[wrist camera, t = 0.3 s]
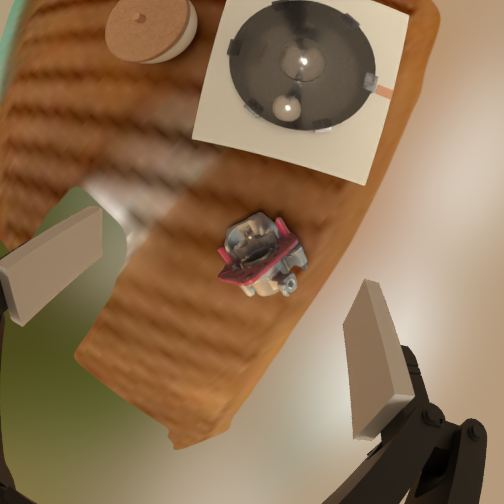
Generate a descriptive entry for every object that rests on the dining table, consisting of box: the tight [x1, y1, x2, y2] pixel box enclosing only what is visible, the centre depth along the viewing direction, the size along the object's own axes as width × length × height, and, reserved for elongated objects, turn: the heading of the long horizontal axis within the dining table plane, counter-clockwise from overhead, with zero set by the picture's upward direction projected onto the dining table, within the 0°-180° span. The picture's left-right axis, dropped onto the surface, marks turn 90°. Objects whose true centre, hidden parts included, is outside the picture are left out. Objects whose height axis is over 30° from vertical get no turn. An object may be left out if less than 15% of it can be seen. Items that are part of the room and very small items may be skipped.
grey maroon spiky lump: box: [218, 212, 308, 297], centre depth 38 cm, size 11×11×12 cm
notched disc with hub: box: [227, 0, 378, 133], centre depth 25 cm, size 16×17×9 cm
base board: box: [192, 0, 409, 186], centre depth 30 cm, size 24×22×2 cm
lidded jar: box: [105, 0, 198, 64], centre depth 26 cm, size 11×11×9 cm
